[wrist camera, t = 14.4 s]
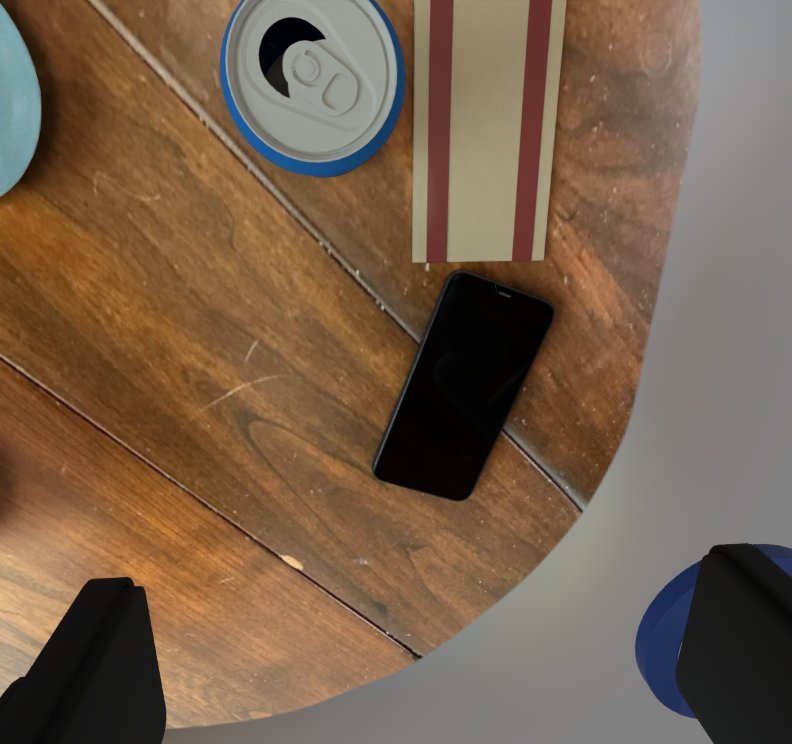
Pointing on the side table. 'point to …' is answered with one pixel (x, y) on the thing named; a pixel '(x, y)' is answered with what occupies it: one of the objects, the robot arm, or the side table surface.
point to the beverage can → (313, 81)
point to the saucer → (16, 104)
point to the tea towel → (484, 127)
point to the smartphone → (462, 385)
